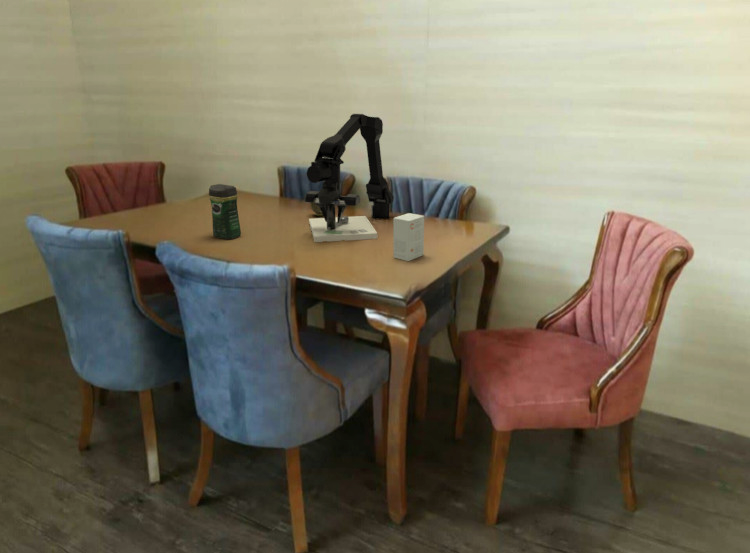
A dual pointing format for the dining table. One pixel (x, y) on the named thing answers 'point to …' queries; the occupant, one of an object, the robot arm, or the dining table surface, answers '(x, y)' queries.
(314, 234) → the dial plate
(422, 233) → the small box
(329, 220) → the dark knobbed cylinder
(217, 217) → the coffee jar
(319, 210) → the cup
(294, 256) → the dining table surface
